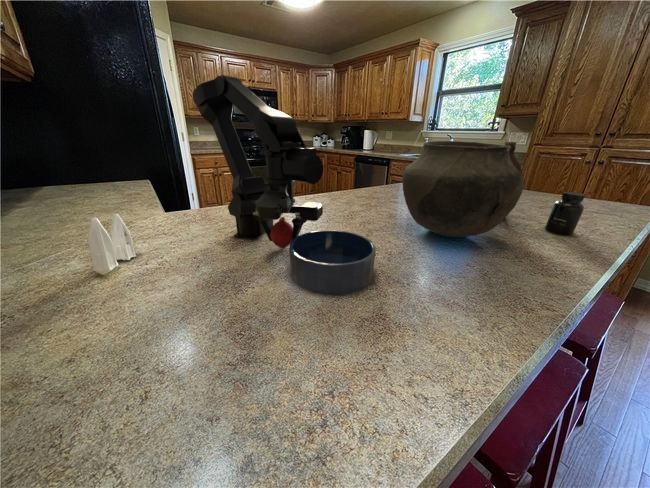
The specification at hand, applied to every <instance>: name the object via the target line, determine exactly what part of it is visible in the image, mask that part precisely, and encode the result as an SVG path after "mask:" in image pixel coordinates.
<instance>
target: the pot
mask: <svg viewBox="0 0 650 488" xmlns="http://www.w3.org/2000/svg"><path fill="white" fill-rule="evenodd" d="M510 149H511V146H506V145H505V144H496V143H483V142H477V141H476V142H475V141H459V140H458V141H456V140H436V141H435V140H433V141H425V142H424V143H423V147H422V151H421V152H420V155H419V156H418V157H417V158H416V159H415V160H414V161H413V162H412V163H410V164H409V165H408V166H406V167H405V169H404V170H403V172H402V177H401V179H402V184H401V185H402V193H403V197H404V201H405V204H406V207H407V209H408V212H409V214H410V216H411V218H412V219H413V220H414V221H415V223H416V224H417V225H419V226H420V227H422V228H424V229H426V230H428V231H430V232H432V233H434V234H437V235H439V236H443V237H448V238H449V237H450V238H467V237H475V236H478V235H482V234H485V233H487V232H489V231H492V230H493V229H495V228H496V227H498V226H499V225H500V224H501V223H502V222H503V221H505V220H506V219H507V217H508V216H509V214H510V213H511V212H512V211H513V209H514V208H515V207H516V206H517V204H518V202H519V200H520V198H521V196H522V194H523V190H524V185H525V184H524V174H523V173H521V172H520V171H519V170H518V169H517V168H516V167H515V166H514V165H513V163H512V161H511V160H510V154H509V151H510ZM505 218H506V219H505ZM504 219H505V220H504Z"/></svg>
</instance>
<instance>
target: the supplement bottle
mask: <svg viewBox="0 0 650 488" xmlns="http://www.w3.org/2000/svg"><path fill="white" fill-rule="evenodd" d="M585 197H586V194H584V193H580V192H574V191H564V192H562V195H561V197H560V200H556V201H555V202H554V204H553V206H552V209H551V210H550V211H551V212H550V214H549V216H548V219H547V221H546V224H545V227H544V230H545V231H547V232H549V233H551V234H554V235H558V236H565V237H566V236H572V235H573V234H574V233H575V230H576V229H577V226H578V223H579V221H580V220H581V218H582V215H583V212H584V210H585V206H584V204H583V203H582V202H584V199H585Z"/></svg>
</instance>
